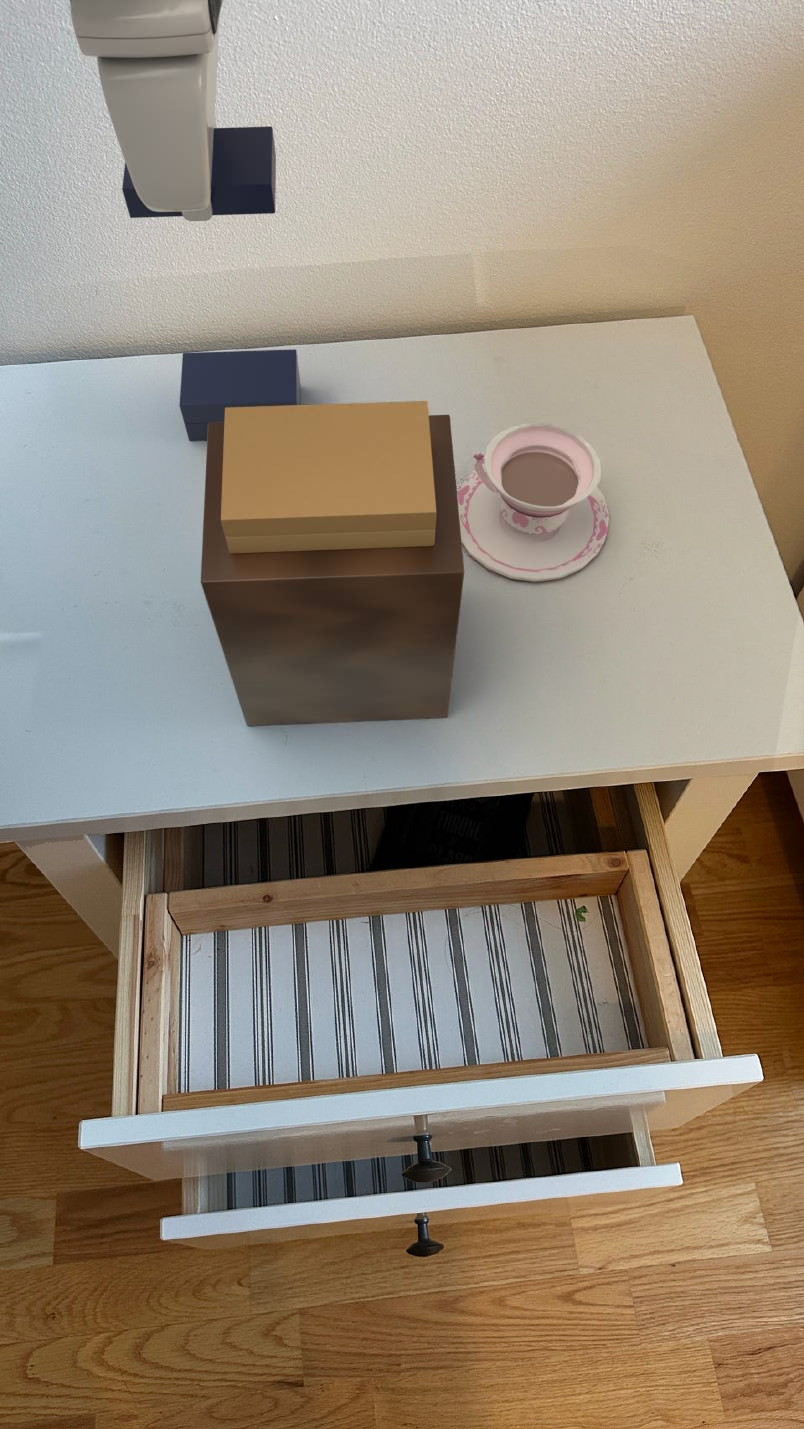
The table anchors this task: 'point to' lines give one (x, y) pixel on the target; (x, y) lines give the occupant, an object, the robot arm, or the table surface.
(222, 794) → the table surface
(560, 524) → the teacup
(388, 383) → the table surface
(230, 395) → the navy books
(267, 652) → the book stand
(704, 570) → the table surface
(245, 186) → the navy book
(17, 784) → the table surface
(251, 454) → the tan books
